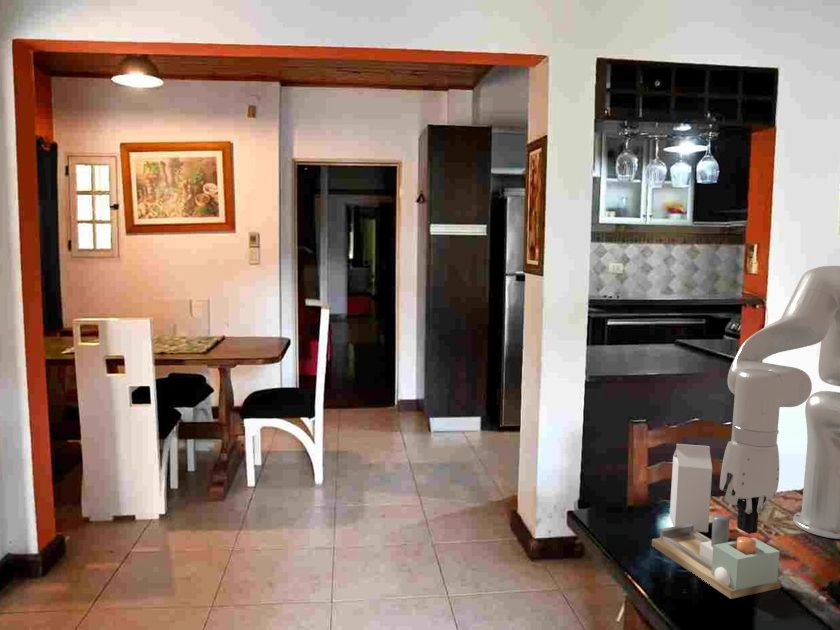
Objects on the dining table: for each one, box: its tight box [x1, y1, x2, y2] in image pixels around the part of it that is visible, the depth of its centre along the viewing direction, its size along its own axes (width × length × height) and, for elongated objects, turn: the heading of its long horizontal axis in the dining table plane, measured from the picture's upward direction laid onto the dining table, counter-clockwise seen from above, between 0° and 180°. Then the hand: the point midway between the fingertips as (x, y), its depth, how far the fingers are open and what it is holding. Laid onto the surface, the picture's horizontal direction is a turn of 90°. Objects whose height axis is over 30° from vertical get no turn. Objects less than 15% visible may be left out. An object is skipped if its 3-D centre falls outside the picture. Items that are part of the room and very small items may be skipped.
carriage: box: [699, 514, 731, 564], centre depth 132 cm, size 5×5×9 cm
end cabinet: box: [711, 537, 780, 599], centre depth 126 cm, size 10×6×8 cm, turn 109°
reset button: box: [736, 536, 756, 555], centre depth 126 cm, size 3×3×3 cm
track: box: [651, 524, 782, 600], centre depth 134 cm, size 12×22×4 cm, turn 19°
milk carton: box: [669, 443, 713, 533], centre depth 152 cm, size 7×7×19 cm
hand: (746, 530), depth 125 cm, fingers closed
